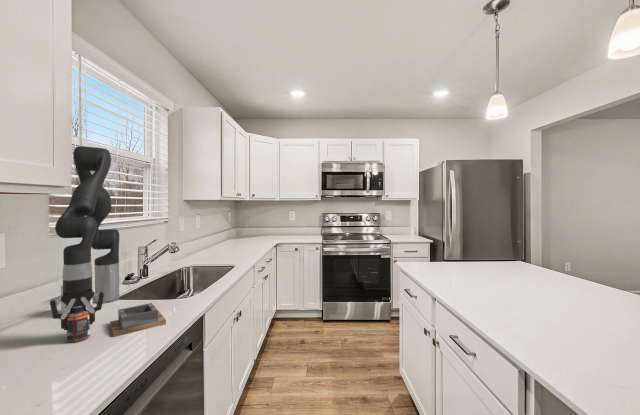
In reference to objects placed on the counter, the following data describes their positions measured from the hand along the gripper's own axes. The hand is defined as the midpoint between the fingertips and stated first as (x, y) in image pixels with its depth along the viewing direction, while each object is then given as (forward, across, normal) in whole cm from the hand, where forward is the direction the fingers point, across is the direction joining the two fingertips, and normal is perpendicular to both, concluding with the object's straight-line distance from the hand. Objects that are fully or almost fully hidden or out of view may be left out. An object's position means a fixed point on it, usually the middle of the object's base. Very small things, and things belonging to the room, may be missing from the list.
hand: (78, 326), depth 96 cm
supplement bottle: (+4, 0, 0) cm, 4 cm away
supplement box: (+4, 0, -29) cm, 29 cm away
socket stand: (+4, -17, 0) cm, 18 cm away
